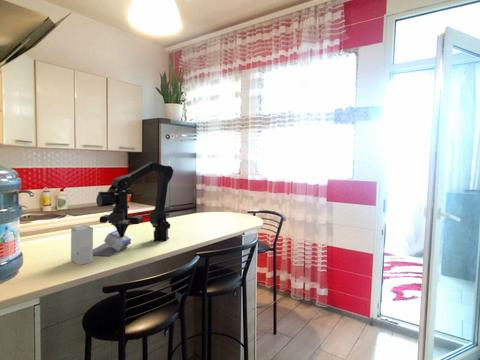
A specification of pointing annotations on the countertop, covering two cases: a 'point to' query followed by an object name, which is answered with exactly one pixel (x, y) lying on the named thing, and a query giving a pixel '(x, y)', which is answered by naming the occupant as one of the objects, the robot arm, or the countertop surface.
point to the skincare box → (81, 244)
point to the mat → (104, 250)
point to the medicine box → (117, 240)
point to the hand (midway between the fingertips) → (121, 237)
